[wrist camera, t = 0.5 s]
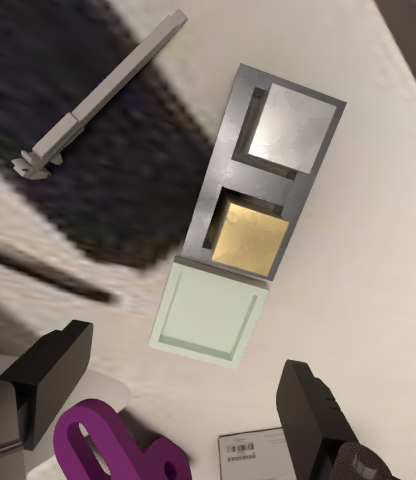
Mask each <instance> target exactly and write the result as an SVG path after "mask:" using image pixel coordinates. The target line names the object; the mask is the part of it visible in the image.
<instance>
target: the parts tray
mask: <svg viewBox="0 0 416 480" xmlns="http://www.w3.org/2000/svg"><path fill="white" fill-rule="evenodd" d="M269 291H270V290H269V288H268V286H267V284H266V283H264V282H261V281H258V280H254V279H251V278H248V277H244V276H241V275H237V274H234V273H231V272H227V271H224V270H221V269H217V268H214V267H211V266H207V265H204V264H200V263H197V262H194V261H190V260H187V259H184V258H180V257H177V256H175V259H174V262H173V265H172V269H171V272H170V275H169V278H168V282H167V285H166V288H165V292H164V295H163V298H162V301H161V305H160V308H159V311H158V314H157V318H156V321H155V324H154V327H153V331H152V334H151V337H150V341H149V344H148V347H151V348H155V349H158V350H162V351H166V352H170V353H174V354H177V355H181V356H185V357H189V358H193V359H196V360H200V361H204V362H208V363H212V364H215V365H219V366H223V367H227V368H230V369H234V370H237V368H238V365H239V363H240V361H241V358H242V356H243V353H244V351H245V349H246V346H247V344H248V341H249V339H250V337H251V334H252V332H253V329H254V327H255V325H256V322H257V320H258V317H259V315H260V313H261V310H262V308H263V305H264V303H265V301H266V298H267V296H268V293H269Z"/></svg>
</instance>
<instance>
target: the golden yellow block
mask: <svg viewBox="0 0 416 480" xmlns="http://www.w3.org/2000/svg"><path fill="white" fill-rule="evenodd" d="M288 224H289V222H288V221H287V220H286V219H284V218H283V217H282V216H280V215H279V214H278V213H276V212H275V211H274V210H272V209H271V208H270V207H268V206H266V205H263V204H260V203H256V202H253V201H250V200H247V199H244V198H241V197H238V196H235V195H232V194H229V193H226V192H224V195H223V198H222V201H221V204H220V207H219V210H218V213H217V216H216V219H215V222H214V225H213V228H212V231H211V234H210V243H211V259H212V260H213V261H216V262H220V263H223V264H226V265H230V266H233V267H236V268H240V269H243V270H247V271H250V272H253V273H257V274H260V275H263V276H268V273H269V271H270V268H271V266H272V264H273V261H274V259H275V256H276V254H277V251H278V249H279V246H280V244H281V242H282V239H283V237H284V234H285V232H286V229H287V227H288Z"/></svg>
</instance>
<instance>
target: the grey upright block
mask: <svg viewBox="0 0 416 480" xmlns="http://www.w3.org/2000/svg"><path fill="white" fill-rule="evenodd" d="M335 110H336V106H333V105H331V104H328V103H325V102H323V101H320V100H317V99H314V98H312V97H309V96H306V95H304V94H301V93H298V92H295V91H293V90H290V89H287V88H285V87H282V86H279V85H277V84H274V83H272V84H271V86H270V87H269V88H268V89H267V90H266V91H265V92H264V93H263V94H262V96H261V97H260V98H259V99H258V100H257V101H256V102H255V103H254V105H253V108H252V111H251V114H250V117H249V120H248V123H247V126H246V129H245V132H244V135H243V138H242V141H241V144H240V147H239V150H238V153H237V155H239V156H242V157H245V158H248V159H251V160H254V161H257V162H260V163H263V164H266V165H269V166H271V167H274V168H277V169H280V170H285V171H292V172H299V173H306V174H309V173H310V171H311V168H312V166H313V164H314V161H315V159H316V156H317V154H318V151H319V149H320V146H321V144H322V142H323V139H324V137H325V134H326V132H327V129H328V127H329V124H330V122H331V120H332V117H333V115H334V112H335Z"/></svg>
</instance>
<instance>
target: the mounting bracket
mask: <svg viewBox="0 0 416 480" xmlns="http://www.w3.org/2000/svg"><path fill="white" fill-rule="evenodd" d="M79 423H81V424H83V426H84V427H85V428H86V430H87V432H88V434H89V435H90V437H91V439H92V440H93V442H94V444H95V446H96V447H97V449H98V451H99V452H100V454H101V456H102V458H103V459H104V461H105V463H106V464H107V466H108V468H109V470H110V473H111V475H108V474H106V473H105V472H104V471H103V469H102V467H101V466H100V464H99V462H98V460H97V459H96V457H95V455H94V454H93V452H92V450H91V448H90V447H89V445H88V443H87V441H86V440H85V438H84V436H83V435H82V433H81V431H80V429H79ZM53 442H54V443H53V444H54V451H55V455H56V458H57V461H58V463H59V465H60V467H61V469H62V471H63V473H64V474H65V476H66V478H67V480H192V476H191V470H190V467H189V463H188V461H187V458H186V456H185V454H184V453H183V451H182V449H181V448H180V447H178V446H177V445H176V444H174V443H173V442H172V441H170V440H169V439H168V438H166V437H161V438H158V439H156V440H155V441H154V442H153V443H151V444H150V445H149V446H147V447H146V448H145V449H144V450H142V452H141V451H140V450H139V448H138V446H137V445H136V443H135V442H134V440H133V438H132V437H131V435H130V434H129V432H128V430H127V429H126V427H125V425H124V424H123V422H122V421H121V419H120V417H119V416H118V414H117V413H116V412H115V411H114V409H113V408H112V407H111V406H109V405H108V404H106V403H105V402H103V401H101V400H98V399H85V400H82V401H80V402H79V403H77V404H76V405H74V406H73V407H71V408H70V409H68V410H67V411H66V412H64V413H63V414H62V415H61V417H60V418H59V420H58V422H57V424H56V426H55V431H54V437H53Z"/></svg>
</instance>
